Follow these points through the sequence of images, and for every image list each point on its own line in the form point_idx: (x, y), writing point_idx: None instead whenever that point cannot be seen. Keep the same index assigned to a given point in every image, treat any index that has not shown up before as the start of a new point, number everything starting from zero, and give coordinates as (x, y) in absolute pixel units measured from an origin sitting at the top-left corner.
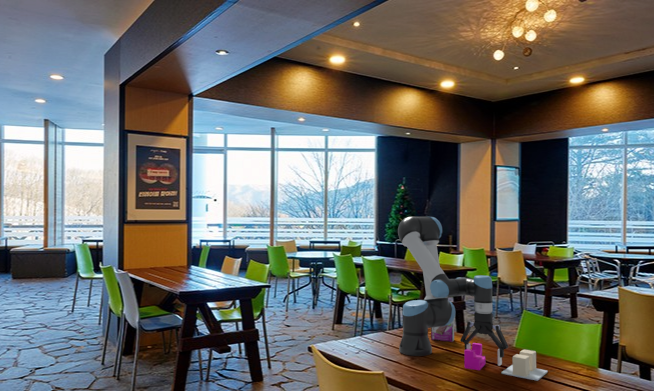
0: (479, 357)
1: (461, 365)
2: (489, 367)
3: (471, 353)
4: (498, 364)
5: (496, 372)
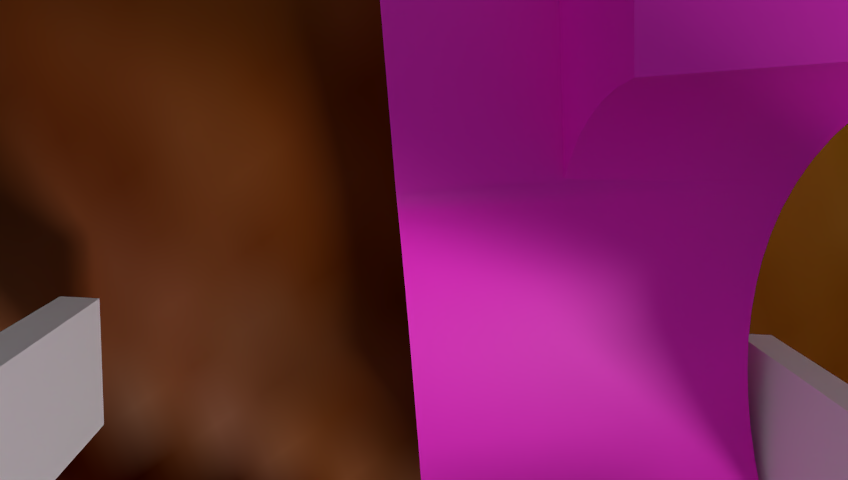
0: (454, 154)
1: None
2: (285, 267)
3: None
4: (72, 304)
5: (51, 16)
